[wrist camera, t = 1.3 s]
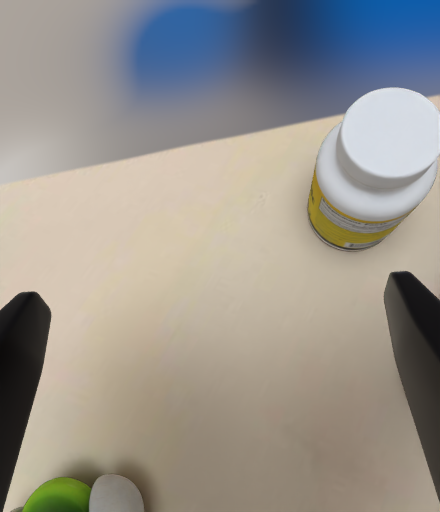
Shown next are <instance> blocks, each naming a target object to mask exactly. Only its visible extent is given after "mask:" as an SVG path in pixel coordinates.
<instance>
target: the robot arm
mask: <svg viewBox="0 0 440 512" xmlns="http://www.w3.org/2000/svg"><path fill="white" fill-rule="evenodd" d="M384 303H385V309H386V314H387V320H388V325H389V331H390V336H391V341H392V347H393V352H394V357H395V361H396V365H397V368H398V371H399V375H400V378H401V381H402V384H403V387H404V391H405V394H406V397H407V400H408V403H409V406H410V410H411V413H412V416H413V419H414V422H415V426H416V429H417V432H418V435H419V438H420V441H421V445H422V448H423V451H424V454H425V457H426V461H427V464H428V467H429V470H430V473H431V476H432V480H433V483H434V486H435V489H436V492H437V496H438V499H439V502H440V300H439V299H438V298H437V297H436V296H435V295H434V294H432V293H431V292H430V291H429V290H428V289H427V288H426V287H425V286H424V285H423V284H422V283H421V282H420V281H419V280H418V279H417V278H416V277H415V276H414V275H413V274H412V273H410V272H408V271H400V272H392V273H390V275H389V278H388V281H387V285H386V288H385V292H384ZM50 322H51V311H50V308H49V307H48V306H47V304H46V303H45V302H44V300H43V299H42V298H41V297H40V295H39V294H38V293H37V292H21V293H19V294H18V295H16V296H15V297H14V298H13V299H12V300H11V301H10V302H9V303H8V304H7V305H5V306H4V307H3V308H2V309H1V310H0V512H3V509H4V505H5V501H6V498H7V494H8V491H9V487H10V484H11V480H12V476H13V473H14V469H15V466H16V462H17V459H18V455H19V452H20V448H21V444H22V441H23V437H24V434H25V430H26V427H27V423H28V420H29V416H30V412H31V409H32V405H33V402H34V398H35V395H36V391H37V387H38V384H39V380H40V377H41V373H42V369H43V364H44V358H45V352H46V346H47V340H48V334H49V328H50Z"/></svg>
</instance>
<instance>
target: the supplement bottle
mask: <svg viewBox="0 0 440 512" xmlns="http://www.w3.org/2000/svg"><path fill="white" fill-rule="evenodd" d="M439 155H440V112H439V110H438V109H437V107H436V106H435V105H434V104H433V103H432V102H431V101H430V100H428V99H427V98H426V97H424V96H423V95H421V94H419V93H417V92H414V91H412V90H408V89H403V88H384V89H379V90H375V91H372V92H370V93H368V94H366V95H364V96H362V97H361V98H359V99H358V100H357V101H356V102H355V103H354V104H353V105H352V106H351V107H350V108H349V109H348V111H347V112H346V114H345V116H344V118H343V121H342V122H340V123H339V124H338V125H336V126H335V127H334V128H333V129H332V130H331V131H330V132H329V134H328V135H327V136H326V138H325V139H324V141H323V143H322V145H321V147H320V149H319V153H318V156H317V159H316V165H315V170H314V175H313V180H312V185H311V190H310V195H309V199H308V208H307V209H308V218H309V222H310V224H311V227H312V228H313V230H314V232H315V233H316V234H317V235H318V237H319V238H320V239H322V240H323V241H324V242H325V243H327V244H328V245H330V246H332V247H334V248H337V249H340V250H345V251H360V250H364V249H368V248H370V247H373V246H375V245H376V244H378V243H379V242H381V241H382V240H383V239H384V238H386V237H387V236H388V235H389V234H390V233H391V232H392V231H393V230H394V229H395V228H396V227H397V226H398V225H399V224H400V223H401V222H402V221H403V220H404V219H405V218H406V217H407V216H408V215H409V214H410V213H411V212H412V211H413V210H414V209H415V208H416V207H417V206H418V205H419V204H420V202H421V201H422V200H423V199H424V198H425V197H426V195H427V194H428V192H429V191H430V189H431V187H432V186H433V183H434V181H435V178H436V174H437V158H438V156H439Z"/></svg>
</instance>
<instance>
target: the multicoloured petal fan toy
mask: <svg viewBox="0 0 440 512" xmlns="http://www.w3.org/2000/svg"><path fill="white" fill-rule="evenodd" d="M11 512H144V504H143V499H142V496H141V494H140V492H139V490H138V488H137V487H136V486H135V484H134V483H133V482H131V481H130V480H129V479H127V478H125V477H123V476H120V475H116V474H108V475H103V476H100V477H99V478H97V480H96V481H95V483H94V485H93V487H92V488H90V487H89V486H88V485H86V484H85V483H83V482H81V481H78V480H76V479H72V478H67V477H59V478H55V479H52V480H49V481H47V482H45V483H44V484H42V485H41V486H40V487H39V488H38V489H37V490H36V491H35V492H34V493H33V494H32V495H31V496H30V498H29V499H28V501H27V502H26V504H25V506H24V507H19V508H16V509H14V510H12V511H11Z"/></svg>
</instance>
